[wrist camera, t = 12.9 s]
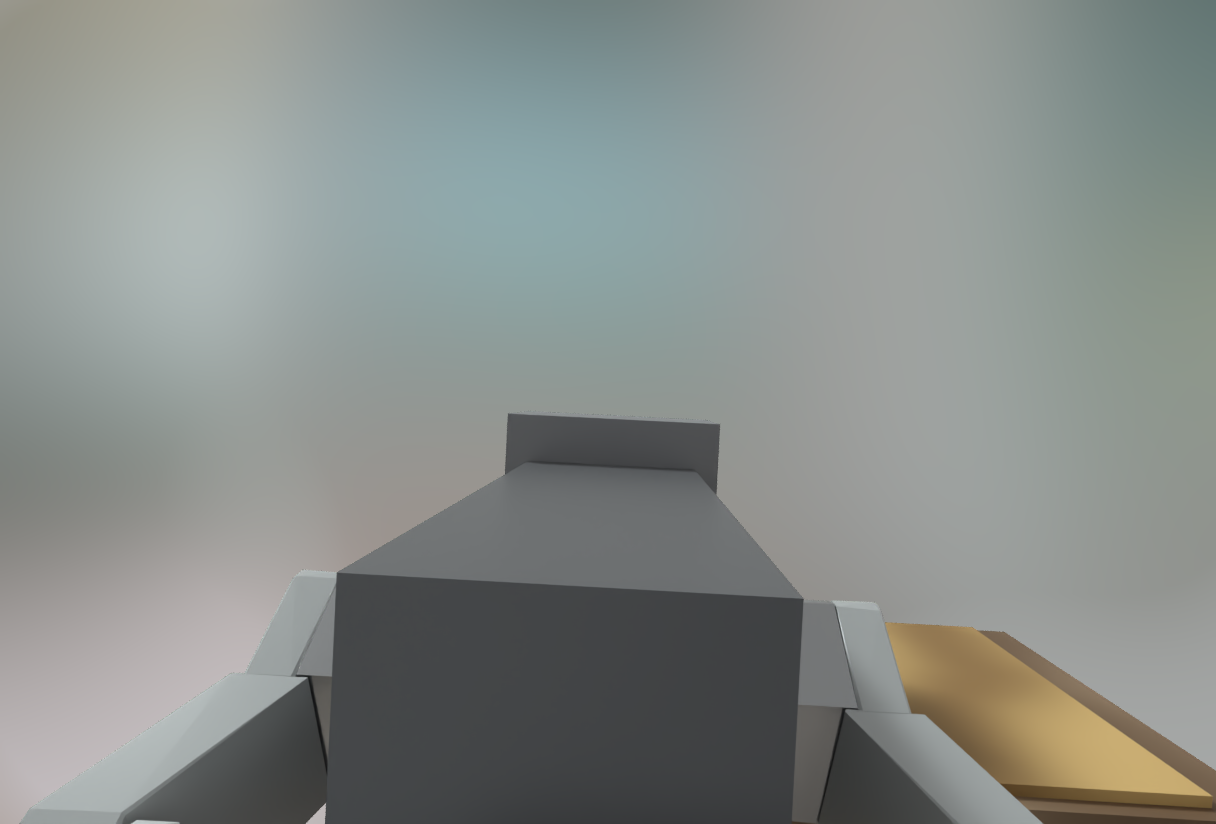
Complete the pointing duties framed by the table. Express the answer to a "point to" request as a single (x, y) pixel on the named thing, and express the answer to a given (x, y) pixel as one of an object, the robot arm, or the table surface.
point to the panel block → (1047, 732)
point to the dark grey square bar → (570, 645)
